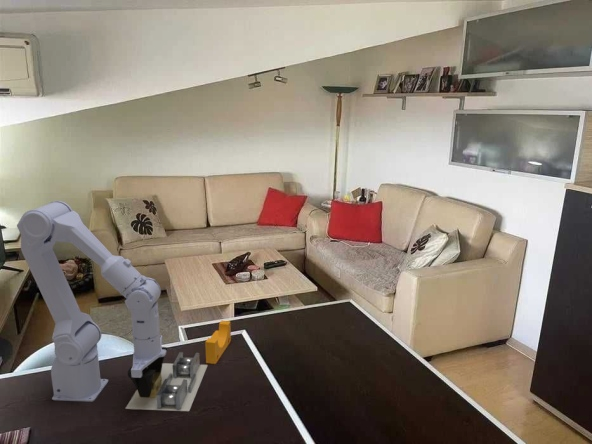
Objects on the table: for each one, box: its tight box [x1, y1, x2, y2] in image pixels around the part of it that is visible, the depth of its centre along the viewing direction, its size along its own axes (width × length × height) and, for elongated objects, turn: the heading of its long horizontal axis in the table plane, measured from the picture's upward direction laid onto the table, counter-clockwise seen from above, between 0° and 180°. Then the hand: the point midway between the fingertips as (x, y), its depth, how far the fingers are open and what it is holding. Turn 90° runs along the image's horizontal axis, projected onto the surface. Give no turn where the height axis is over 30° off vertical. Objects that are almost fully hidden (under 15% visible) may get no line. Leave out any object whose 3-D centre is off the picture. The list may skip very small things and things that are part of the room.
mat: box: [125, 362, 209, 412], centre depth 107 cm, size 14×18×1 cm
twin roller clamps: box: [157, 351, 201, 410], centre depth 106 cm, size 6×18×4 cm, turn 178°
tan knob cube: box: [139, 372, 162, 398], centre depth 104 cm, size 4×4×4 cm
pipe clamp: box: [204, 320, 232, 365], centre depth 121 cm, size 12×4×6 cm, turn 169°
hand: (150, 387), depth 104 cm, fingers open, 6 cm apart
